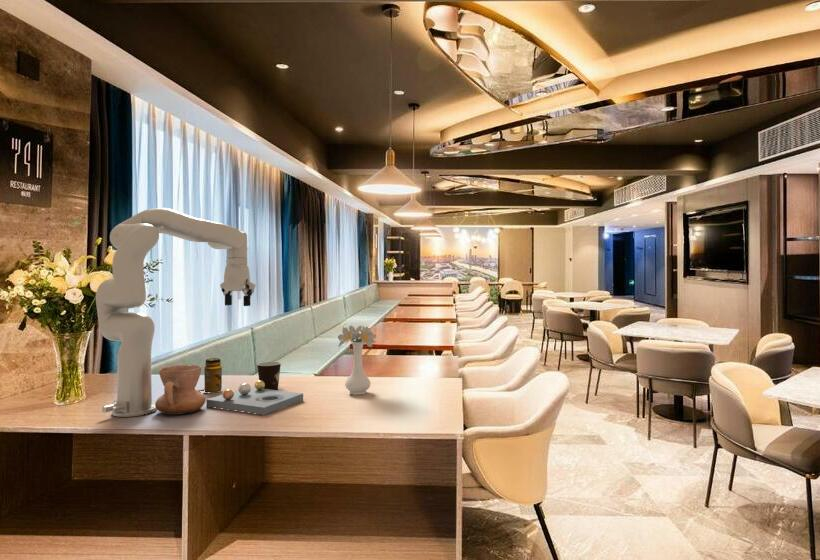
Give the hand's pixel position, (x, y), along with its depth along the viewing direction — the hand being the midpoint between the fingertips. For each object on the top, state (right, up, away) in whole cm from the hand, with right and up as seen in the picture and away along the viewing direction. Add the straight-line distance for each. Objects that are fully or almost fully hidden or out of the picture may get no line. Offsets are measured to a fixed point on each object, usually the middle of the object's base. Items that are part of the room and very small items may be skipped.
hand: (237, 305), depth 201 cm
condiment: (-6, -32, -12) cm, 34 cm away
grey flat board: (+17, -32, -30) cm, 47 cm away
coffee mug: (+16, -32, -9) cm, 37 cm away
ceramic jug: (-4, -32, -40) cm, 52 cm away
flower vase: (+49, -32, -14) cm, 60 cm away
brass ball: (+15, -27, -21) cm, 38 cm away
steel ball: (+12, -27, -28) cm, 41 cm away
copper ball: (+9, -28, -35) cm, 46 cm away
